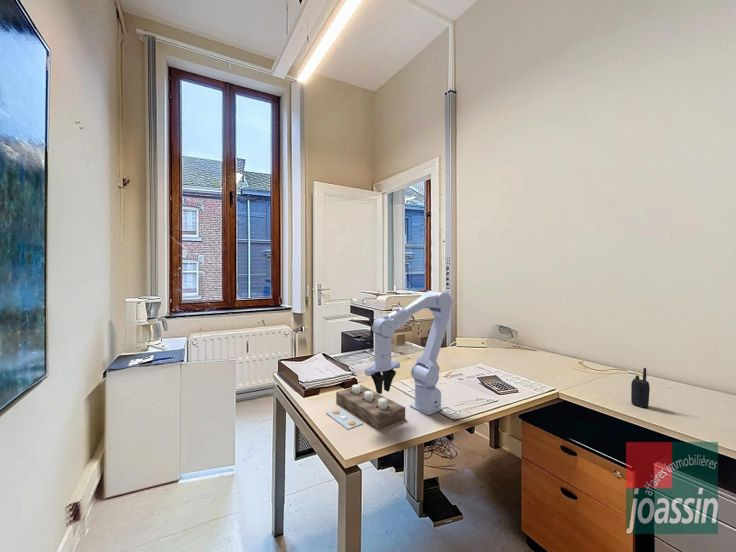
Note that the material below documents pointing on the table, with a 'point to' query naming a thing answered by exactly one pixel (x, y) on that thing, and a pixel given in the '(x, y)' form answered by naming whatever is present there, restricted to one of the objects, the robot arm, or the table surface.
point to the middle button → (368, 396)
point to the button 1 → (356, 389)
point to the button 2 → (382, 404)
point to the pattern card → (344, 418)
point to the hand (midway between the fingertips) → (382, 391)
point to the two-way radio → (640, 391)
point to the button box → (371, 407)
